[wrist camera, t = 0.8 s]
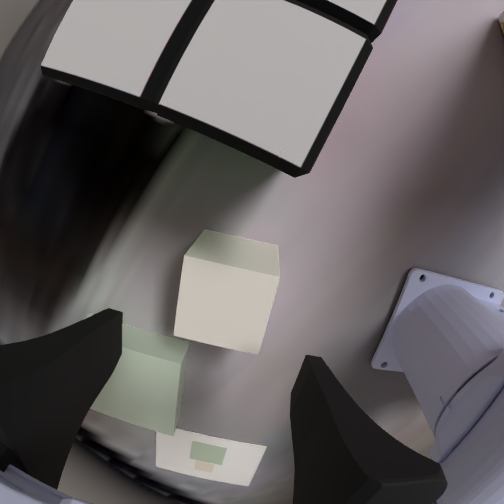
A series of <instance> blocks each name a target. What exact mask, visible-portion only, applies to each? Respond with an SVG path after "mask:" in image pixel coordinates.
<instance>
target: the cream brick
mask: <svg viewBox="0 0 504 504" xmlns="http://www.w3.org/2000/svg"><path fill="white" fill-rule="evenodd" d="M279 280H280V267H279V253H278V245H274V244H270V243H265V242H261V241H256V240H252V239H248V238H243V237H239V236H234V235H230V234H225V233H221V232H216V231H212V230H207V229H204V230H203V232H202V233H201V234H200V236H199V237H198V238H197V239H196V241H195V242H194V243H193V245H192V246H191V247H190V248H189V250H188V251H187V252H186V254H185V255H184V260H183V267H182V274H181V281H180V288H179V295H178V303H177V311H176V319H175V327H174V336H178V337H182V338H186V339H190V340H194V341H198V342H202V343H206V344H210V345H215V346H219V347H224V348H228V349H233V350H237V351H242V352H247V353H252V354H257V355H258V354H259V351H260V347H261V344H262V341H263V337H264V334H265V330H266V326H267V323H268V319H269V316H270V312H271V309H272V305H273V301H274V298H275V294H276V291H277V287H278V283H279Z"/></svg>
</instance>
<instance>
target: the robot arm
mask: <svg viewBox="0 0 504 504" xmlns="http://www.w3.org/2000/svg"><path fill="white" fill-rule="evenodd" d="M421 275H424V277H423V279H421V280H419V278H420V276H421ZM490 294H491V295H490ZM503 297H504V293H503V292H502V291H501V290H499V289H495V288H492V287H488V286H484V285H481V284H477V283H473V282H470V281H466V280H462V279H458V278H454V277H451V276H447V275H443V274H439V273H435V272H431V271H428V270H424V269H420V268H413V269H412V270H410V272H409V274H408V276H407V279H406V282H405V284H404V287H403V289H402V292H401V295H400V297H399V300H398V302H397V304H396V307H395V309H394V312H393V314H392V316H391V319H390V321H389V323H388V326H387V328H386V330H385V333H384V335H383V337H382V339H381V341H380V344H379V346H378V348H377V350H376V352H375V354H374V356H373V358H372V361H371V365H372V367H373V368H374V369H379V370H388V371H397V372H404V374H405V376H406V378H407V380H408V382H409V384H410V386H411V388H412V390H413V392H414V394H415V396H416V398H417V400H418V403H419V405H420V407H421V409H422V411H423V413H424V415H425V417H426V419H427V422H428V424H429V426H430V428H431V430H432V433H433V435H434V437H435V442H434V445H433V446H432V447H431V449H430V450H429V452H430V455H431V457H432V460H431V459H429V458H427V457H425V456H423V455H421V454H419V453H417V452H415V451H413V450H412V449H410V448H408V447H407V446H405V445H404V444H402V443H401V442H399V441H398V440H396V439H395V438H394V437H392V436H391V435H390V434H388V433H387V432H386V431H384V430H383V429H382V428H381V427H380V426H378V425H377V424H376V423H375V422H374V421H373V420H372V419H371V418H370V417H369V416H368V415H367V414H366V413H365V412H364V411H363V410H362V409H361V408H360V407H359V406H358V405H357V404H356V403H355V401H354V400H353V399H352V398H351V397H350V395H349V394H348V393H347V392H346V391H345V389H344V388H343V387H342V385H341V384H340V383H339V381H338V380H337V379H336V377H335V376H334V374H333V373H332V372H331V370H330V369H329V367H328V366H327V365H326V363H325V362H324V360H323V359H322V358H321V357H316V356H310V355H306V356H305V359H304V361H303V364H302V367H301V369H300V372H299V374H298V377H297V379H296V382H295V384H294V387H293V389H292V392H291V403H290V419H291V430H292V441H293V451H294V465H295V474H294V495H293V504H504V308H503V307H502V306H501V305H500V304H501V302H502V299H503ZM122 316H123V312H120V311H116V310H113V309H110V308H108V309H106V310H103V311H101V312H99V313H97V314H94V315H92V316H90V317H88V318H86V319H84V320H82V321H79V322H77V323H75V324H73V325H71V326H68V327H66V328H63V329H61V330H58V331H55V332H53V333H50V334H47V335H44V336H41V337H38V338H34V339H31V340H27V341H22V342H17V343H11V344H6V345H0V504H92V503H89V502H85V501H82V500H80V499H77V498H73V497H71V496H69V495H66V494H64V493H62V492H60V491H58V490H57V488H58V485H59V481H60V478H61V474H62V471H63V468H64V466H65V463H66V460H67V457H68V454H69V452H70V449H71V447H72V444H73V442H74V440H75V437H76V435H77V433H78V430H79V428H80V426H81V424H82V422H83V420H84V418H85V416H86V414H87V412H88V411H89V409H90V407H91V406H92V404H93V403H94V401H95V400H96V398H97V397H98V395H99V394H100V392H101V391H102V389H103V388H104V386H105V384H106V383H107V381H108V380H109V378H110V377H111V375H112V374H113V372H114V370H115V368H116V366H117V363H118V361H119V359H120V357H121V355H122ZM384 362H386V363H385V364H383V365H381V364H382V363H384Z"/></svg>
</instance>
